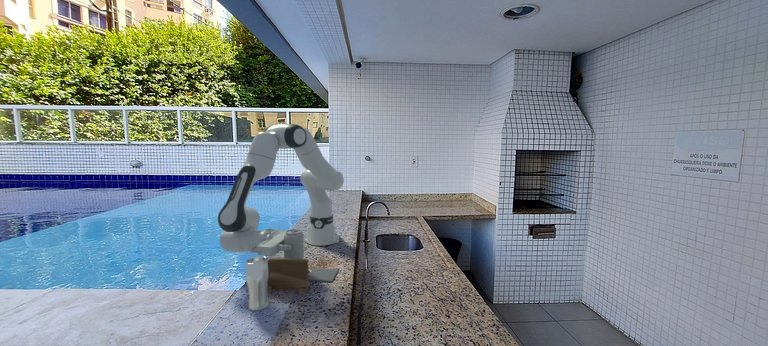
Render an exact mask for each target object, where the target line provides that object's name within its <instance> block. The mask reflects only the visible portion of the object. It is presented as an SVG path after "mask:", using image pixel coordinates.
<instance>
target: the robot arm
mask: <svg viewBox="0 0 768 346" xmlns="http://www.w3.org/2000/svg"><path fill="white" fill-rule="evenodd" d="M280 149H282V150H283V149H293V150H294V153H295V155H296V156H297V158H298V160H299V162H300V164H301V166H302V167H303V168H305V169H304V170H303V171H302V172H301V175H300V183H301V184H302V186H303V187H304V188H305V189H306V191H307V194H308V197H309V201H310V217H309V225H307V227H306V237H305V238H304V242H305V243H307V244H309V245H312V246H328V245H329V246H330V245H333V244H338V243H340V233H339V232H336V229H337V228H336V225H335V223H334V214H333V200H332V199H331V198H330V196H328V195H327V192H329V191H330V192H332V191H334V192H335V191H338V190H341V188H342V187H343V185H344V181H345V179H344V175H343V173H342V172H341V171H339V170H337V169H336V168H335V167H333V166H332V165H331V163H329V161H328V160H326V158H325V157H324V156H323V153H322V151H321V150H320V147H319V146H318V143H317V142H316V139H315V138H314V136H313V135H312V133H311V132H310V131H309V129H307V127H303V126H301V125H299V124H296V123H291V124H290V123H280V124H279V123H278V124H271V125H270V124H269V125H268V126H266V127H265V128H264V129H263V130H262V131H259V132H257V133H256V134H255V136H254V138H253V139H252V142H251V144H250V146H249V149H248V153H247V156H246V159H245V161H244V163H243V166H242V167H241V169H239V172H238V174H237V175H236V177H235V181H234V183H233V185H232V187H231V188H232V189H231V191H230V193H229V195H228V198H227V199H226V202H225V204H224V205H223V206H222V208H221V209H220V211H219V212H218V214H217V215H218V216H217V223H218V226H219V227H220V228H221V230H222V232H221V233H220V234H219V235H220V236H219V244H220V247H221V248H222V250H224V251H227V252H231V253H241V254H242V253H251V254H257V255H259V256H264V257H273V256H275V255H277V253H279V252H284V250H291V249H292V248H293V247H292V246H293V245H292V244H287V245H284V235H285V234H286V233H285V232H286V231H287V230H285V229H275V228H272V227H271V228H267V229H262V230H261V229H260V230H259V229H258V227H259V223H260V214H259V212H258V210H257V209H255V208H253V207H249V206H246V204H247V203H246V202H247V201H248V197H249V194H250V192H251V189H252V187H253V186H254V184H255V183H256V182H258V181H259V180H262V179H265V178H267V177H269V176H270V175H271V173H272V171H273V169H274V168H275V163H276V160H277V159H276V158H277V156H278V155H277V154H278V151H279V150H280ZM326 191H327V192H326Z"/></svg>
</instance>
